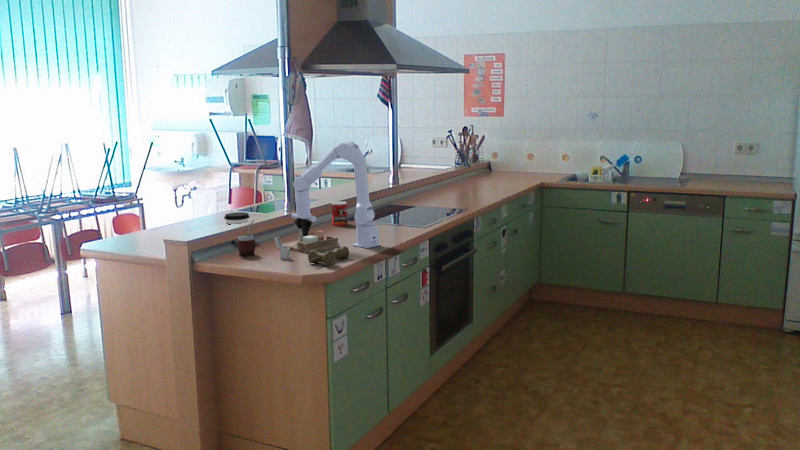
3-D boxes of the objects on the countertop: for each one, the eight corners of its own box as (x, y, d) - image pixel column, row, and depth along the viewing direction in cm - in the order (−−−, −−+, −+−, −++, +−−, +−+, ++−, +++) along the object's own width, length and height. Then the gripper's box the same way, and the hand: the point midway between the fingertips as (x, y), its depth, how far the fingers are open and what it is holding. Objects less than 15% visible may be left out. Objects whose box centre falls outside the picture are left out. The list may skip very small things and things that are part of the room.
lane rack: (338, 246, 291) (338, 237, 290) (306, 253, 279) (305, 244, 278) (310, 240, 304) (310, 232, 303) (278, 246, 292) (277, 238, 291)
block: (318, 247, 284) (317, 236, 283) (309, 249, 281) (309, 238, 280) (311, 245, 287) (310, 235, 286) (302, 247, 284) (302, 236, 283)
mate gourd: (239, 253, 281) (237, 216, 279) (259, 252, 282) (257, 216, 279) (236, 257, 274) (234, 220, 271) (256, 256, 274) (254, 219, 272)
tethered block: (324, 241, 294) (323, 230, 293) (315, 243, 290) (314, 231, 289) (307, 238, 301) (307, 226, 300) (298, 240, 298) (298, 228, 297)
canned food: (333, 226, 336) (332, 204, 334) (330, 223, 344) (330, 201, 342) (349, 225, 338) (348, 203, 336) (346, 222, 346) (345, 200, 344)
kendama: (355, 260, 268) (320, 270, 252) (336, 258, 274) (300, 267, 258) (354, 245, 267) (319, 253, 251) (335, 243, 273) (300, 251, 257)
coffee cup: (240, 237, 313) (239, 211, 311) (256, 240, 306) (254, 213, 304) (220, 241, 305) (218, 214, 303) (235, 244, 298) (234, 217, 296)
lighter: (290, 258, 270) (289, 238, 269) (287, 259, 269) (286, 239, 267) (278, 256, 275) (277, 236, 273) (274, 257, 273) (273, 237, 272)
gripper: (321, 205, 294) (322, 236, 297) (299, 202, 304) (301, 232, 307) (308, 207, 289) (309, 239, 292) (286, 204, 299) (288, 235, 302)
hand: (304, 236), depth 299 cm, fingers closed, pressing on tethered block
